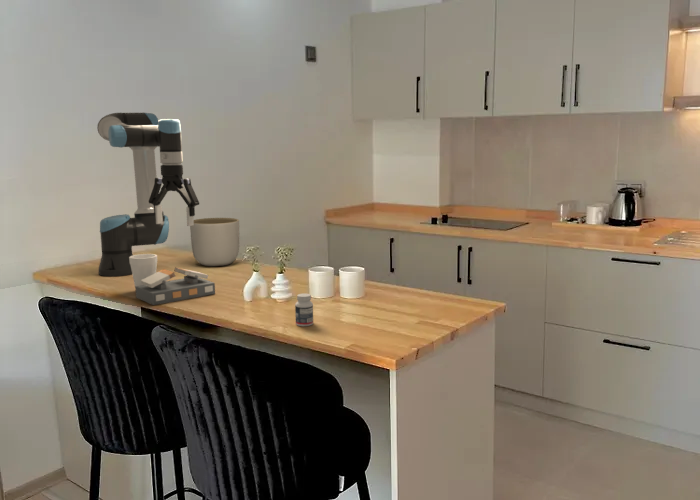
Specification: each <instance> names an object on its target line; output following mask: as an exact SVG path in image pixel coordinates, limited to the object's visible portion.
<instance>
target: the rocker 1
mask: <svg viewBox="0 0 700 500" xmlns="http://www.w3.org/2000/svg"><path fill="white" fill-rule="evenodd" d="M175 277H176V274H175V271H171V270H168V269H165V268H163V269H160V270H159V271H156V273H155V274H153V275H151V276H149V277H147V278H145V279H143V280H141V283H142V284H143V285H146V286H148V287H151V288H153V287H155V286H157V285H159V284H161V283H163V284H165V283H166V281H170V280H171V279H173V278H175Z"/></svg>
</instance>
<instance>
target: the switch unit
mask: <svg viewBox="0 0 700 500" xmlns="http://www.w3.org/2000/svg"><path fill="white" fill-rule="evenodd" d="M134 288H135V298H136V299H139V300H141V301H142V302H145V303H147V304H149V305H152V306H156V305H161V304H162V305H163V304H168V303H172V302H179V301H184V300H189V299H196V298H199V297H200V298H201V297H207V296H211V295H215V294H216V283H215V282H213V281H210V280H208V279H205V278H200V277H198V278H197V279H196V278H193V277H190V276H187V275H184V276H183V278H179V279H173V280H171V279H170V280H167V281H166V283H165V284H163V283H161V284H159V285H157V286H155V287H153V288H151V287H148V286H146V285H140V286H135V285H134Z"/></svg>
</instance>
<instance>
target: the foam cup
mask: <svg viewBox="0 0 700 500" xmlns="http://www.w3.org/2000/svg"><path fill="white" fill-rule="evenodd" d="M129 262H130V265H131V270H132V274H131V275H132V279H133V284H134V287H135V286H140V285H143V284H142V283H141V280H143V279H145V278H147V277H149V276H151V275H153V274H155V273H157V265H158V254H154V253H141V254H140V253H139V254H133V256H130V257H129Z"/></svg>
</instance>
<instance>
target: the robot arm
mask: <svg viewBox="0 0 700 500" xmlns="http://www.w3.org/2000/svg"><path fill="white" fill-rule="evenodd" d="M96 126H97V131H98V134H99V136H100V137H101V138H102V139H104V141H105V140H106V141H109V142H108V143H109V145H110V146H111V147H113V148H129V149H131V150H132V157H133V169H134V180H135V192H136V206H137V210H135V212H134V214H133V215H134V217H131V216H130V215H129V214H118V215H117V214H116V215H111V216H107V217H104V218H102V219H101V220H100V222H99V233H100V243H101V245H100V247H101V258H100V261H99V266H98V275H100V276H101V277H102V276H103V277H123V276H129V275H132V270H131V265H130V262H129V257H130V256H133V255H134V254H133V247H138V246H139V247H140V246H149V245H150V246H151V245H153V246H154V245H155V246H156V245H159V244H164V243H165V242H166V241H167V240H168V237H169V231H170V221H169V217H168V216H167V215H165V214H164V211H163V205H162V204H161V203H162V201H163V200H164V198H165V197H166V195H167V194H168V192H171V191H172V192H177V193H178V194H179V196H180V197H181V198H182V200H183V201H184V203H185V204H186V205H187V207H186V209H185V211H186V226H187V227H190V226H192V225H194V220H195V219H194V217H195V215H196V213H195V212H196V211H195V210H196V209H195V207H196V206H198V205H200V201H199V199H198V197H197V195H196V193H195V190H194V188H193V186H192V182H191V178H187V177H186V178H183V175H184V166H183V165H182V163H183V147H182V145H183V144H182V128H181V127H182V126H181V121H180V120H179V119H178V118H177V119H176V118H175V119H173V118H167V119H166V118H162V119H161V118H160V119H159V118H158V116H157V115H156V114H155V113H152V112H114V113H109V114H106V115H104V116H102V117H101V118H100V119H99V120H98V123H97V125H96ZM157 147H158V148H159V160H160V163H161V165H160V175H161V176H162V177H157V175H158V174H157V163H156V153H155V151H156V148H157Z"/></svg>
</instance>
